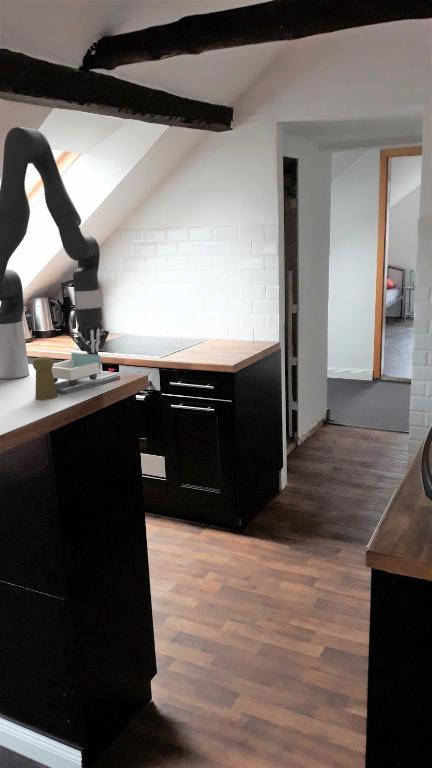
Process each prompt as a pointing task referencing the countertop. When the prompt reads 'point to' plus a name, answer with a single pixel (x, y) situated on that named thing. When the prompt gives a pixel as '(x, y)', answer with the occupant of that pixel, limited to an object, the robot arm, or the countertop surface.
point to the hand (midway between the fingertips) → (93, 364)
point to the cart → (77, 368)
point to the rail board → (84, 383)
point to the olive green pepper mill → (44, 379)
